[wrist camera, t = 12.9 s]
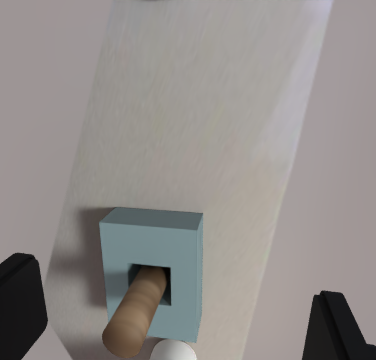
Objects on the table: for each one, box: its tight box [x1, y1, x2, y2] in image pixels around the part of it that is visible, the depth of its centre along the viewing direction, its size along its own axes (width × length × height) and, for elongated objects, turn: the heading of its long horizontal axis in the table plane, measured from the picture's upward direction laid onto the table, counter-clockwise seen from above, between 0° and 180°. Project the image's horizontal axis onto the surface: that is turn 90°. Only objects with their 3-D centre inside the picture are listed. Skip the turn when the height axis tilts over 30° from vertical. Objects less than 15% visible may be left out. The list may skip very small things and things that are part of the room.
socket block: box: [99, 207, 203, 343], centre depth 40 cm, size 16×12×5 cm
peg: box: [102, 265, 171, 358], centre depth 36 cm, size 4×4×14 cm
